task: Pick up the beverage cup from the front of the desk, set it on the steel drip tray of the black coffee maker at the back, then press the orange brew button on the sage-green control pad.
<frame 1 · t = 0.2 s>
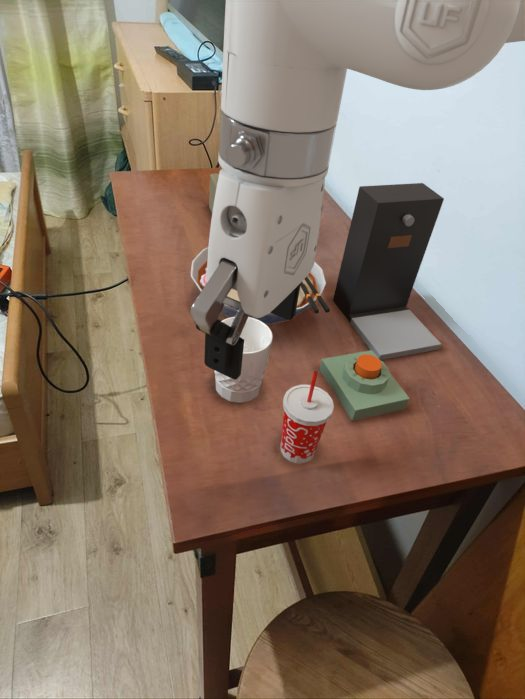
hand: (252, 340, 45), 24 cm above the table, tool pointing down, fingers open, 9 cm apart
brew pad: (361, 388, 77), on the table
tissue box: (238, 226, 113), on the table
coffee maker: (393, 336, 88), on the table
ramen bowl: (254, 308, 90), on the table
white cup: (237, 387, 75), on the table
crayon box: (245, 188, 129), on the table
brew button: (368, 366, 74), point 4 cm above the table, slide at 0.1 cm
beverage cup: (297, 450, 67), on the table
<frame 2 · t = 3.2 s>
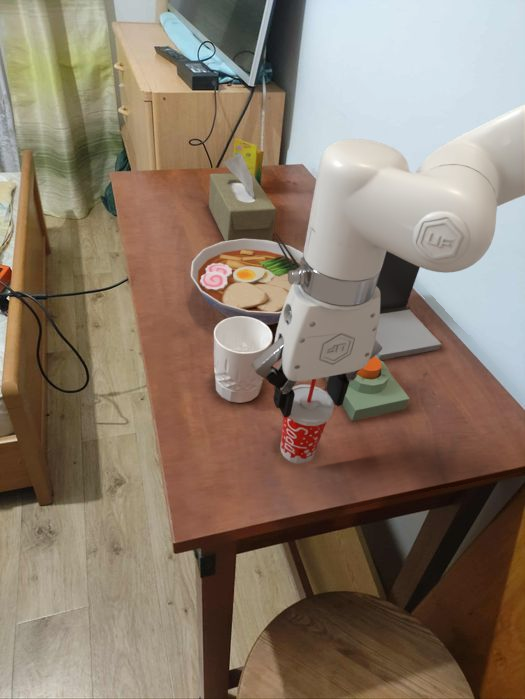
hand: (308, 402, 61), 9 cm above the table, tool pointing down, fingers closed on beverage cup, 6 cm apart
beverage cup: (297, 450, 67), on the table, touching gripper
everything else where it was.
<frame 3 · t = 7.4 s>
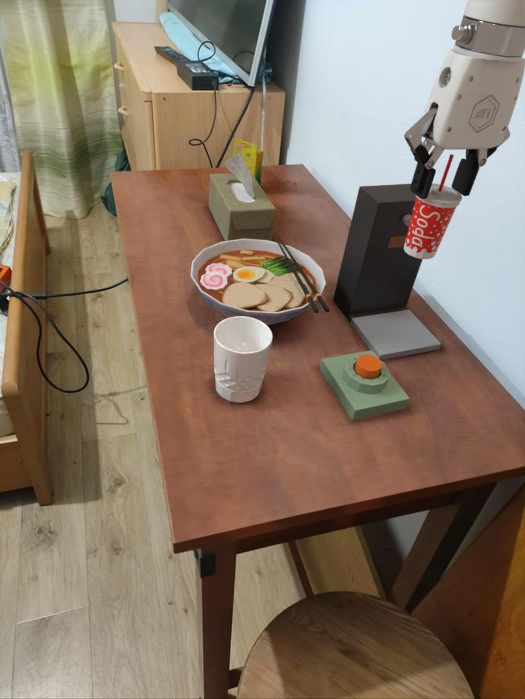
hand: (439, 192, 69), 27 cm above the table, tool pointing down, fingers closed on beverage cup, 6 cm apart
beverage cup: (418, 252, 74), point 18 cm above the table, touching gripper
everything else where it was.
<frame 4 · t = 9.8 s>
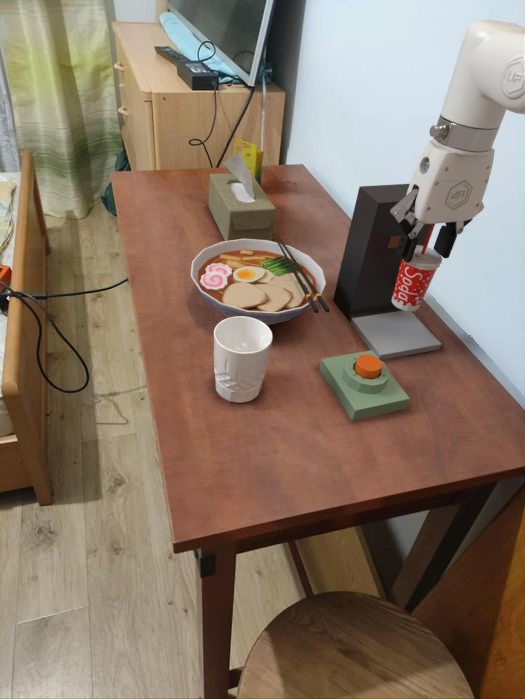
hand: (422, 254, 77), 16 cm above the table, tool pointing down, fingers closed on beverage cup, 6 cm apart
beverage cup: (405, 303, 83), point 7 cm above the table, touching gripper
everything else where it was.
when the fingers open (10 cm above the table, at t = 11.7 s): beverage cup stays where it is, resting on coffee maker.
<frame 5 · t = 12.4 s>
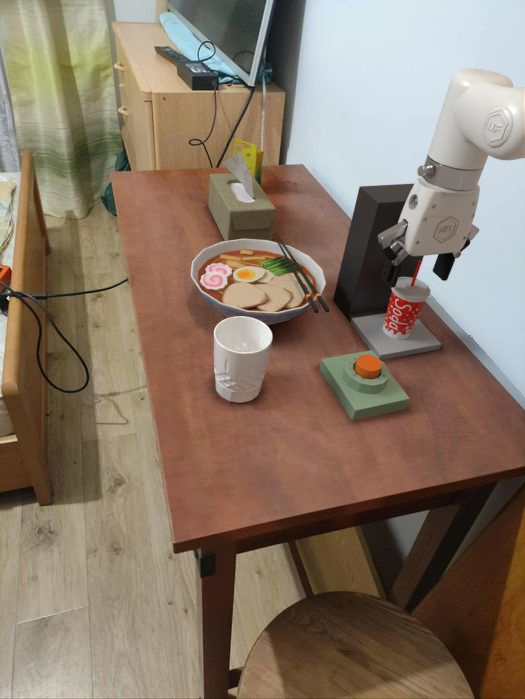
hand: (414, 279, 80), 12 cm above the table, tool pointing down, fingers open, 9 cm apart
beverage cup: (395, 331, 87), point 1 cm above the table, touching coffee maker
everything else where it was.
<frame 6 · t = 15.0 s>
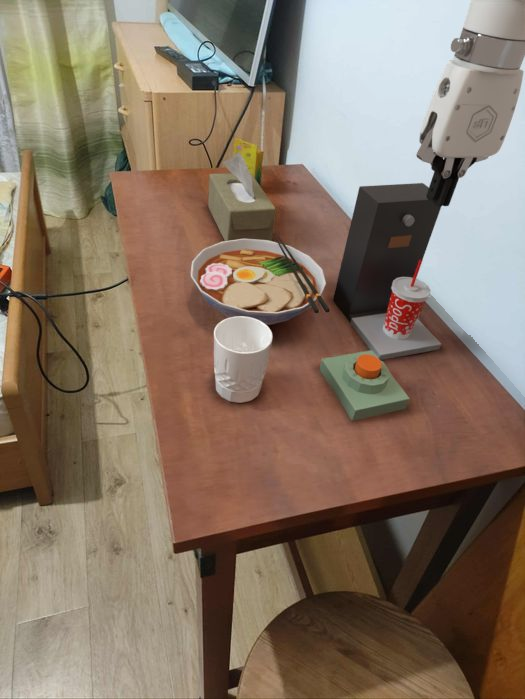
hand: (437, 201, 70), 25 cm above the table, tool pointing down, fingers closed
nothing on the table moved.
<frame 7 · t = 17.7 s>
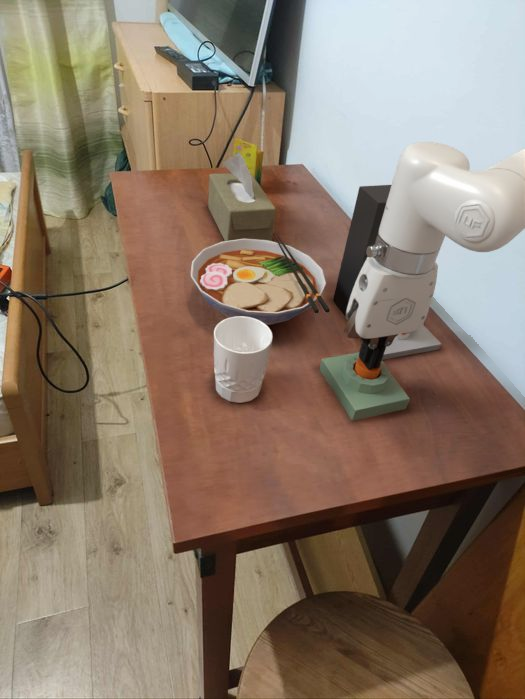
hand: (368, 362, 74), 5 cm above the table, tool pointing down, fingers closed
brew button: (367, 367, 74), point 4 cm above the table, slide at -0.1 cm, touching gripper
everything else where it was.
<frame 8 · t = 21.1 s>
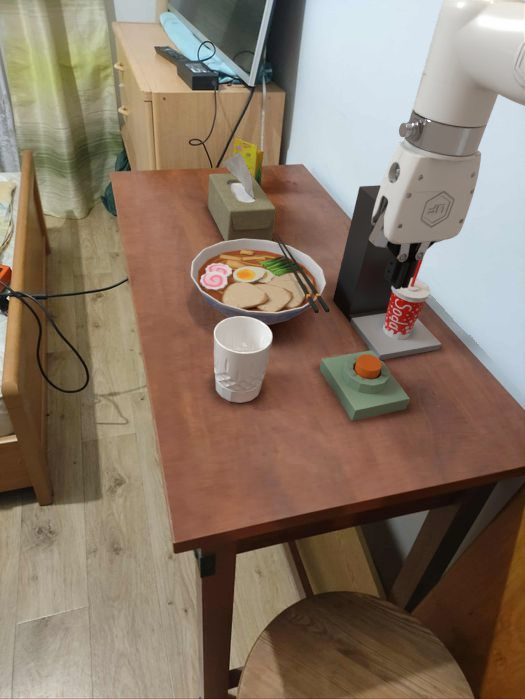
hand: (395, 282, 65), 19 cm above the table, tool pointing down, fingers closed
brew button: (368, 366, 74), point 4 cm above the table, slide at 0.1 cm
everything else where it was.
at the end: beverage cup 0.1 cm off-centre on the coffee maker, point 1.0 cm above the coffee maker's base; beverage cup tilted 0°; brew button pushed in 1.1 cm at the most during the clip, back to where it started at the end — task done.
